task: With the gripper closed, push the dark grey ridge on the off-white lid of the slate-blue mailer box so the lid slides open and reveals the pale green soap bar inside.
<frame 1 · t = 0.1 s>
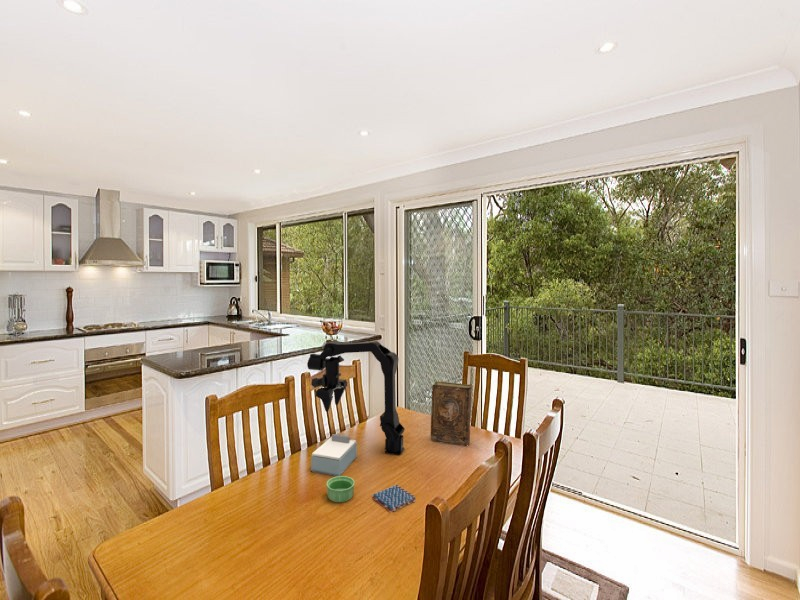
hand: (331, 408, 169), 15 cm above the table, tool pointing down, fingers open, 9 cm apart
woven mat: (393, 502, 127), on the table
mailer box: (334, 463, 150), on the table
book: (450, 441, 173), on the table
lid: (335, 444, 150), point 7 cm above the table, slide at 0.0 cm
ramekin: (340, 496, 129), on the table
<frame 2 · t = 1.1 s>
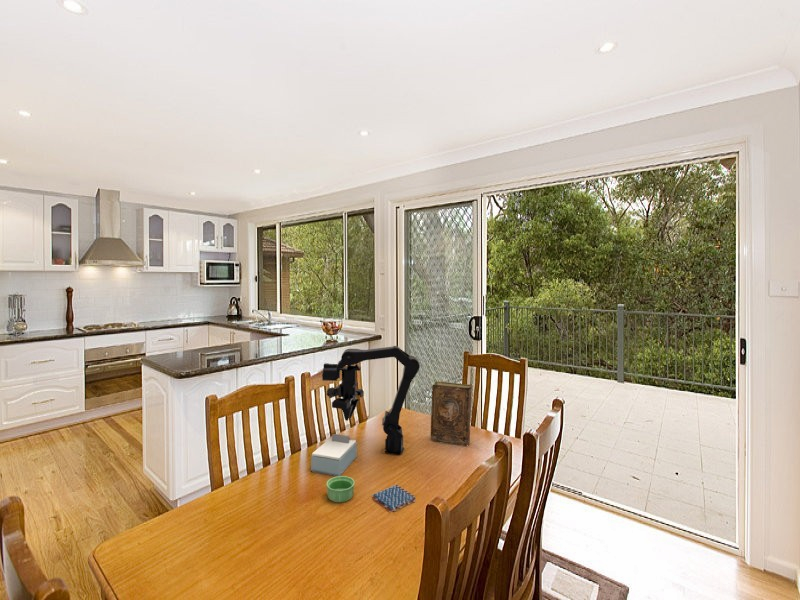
hand: (348, 419, 161), 13 cm above the table, tool pointing down, fingers open, 3 cm apart
nothing on the table moved.
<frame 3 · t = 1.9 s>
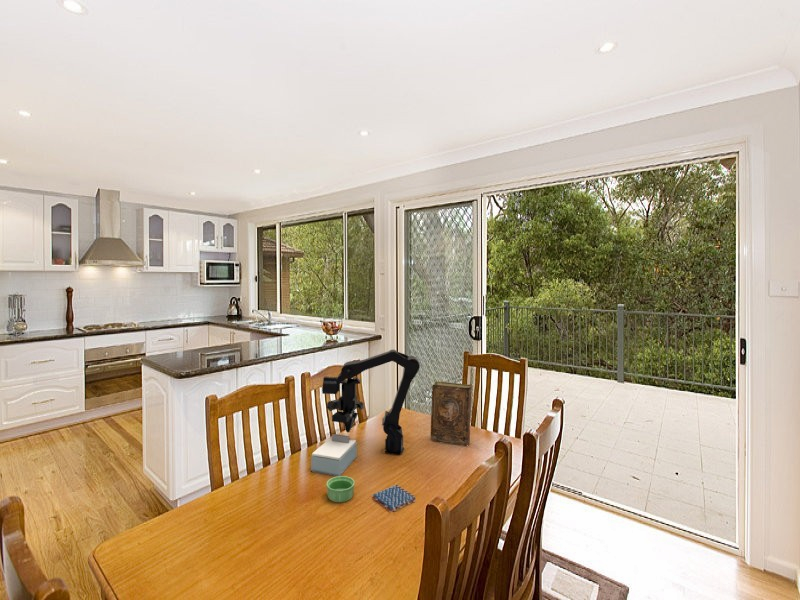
hand: (348, 432, 161), 8 cm above the table, tool pointing down, fingers closed
nothing on the table moved.
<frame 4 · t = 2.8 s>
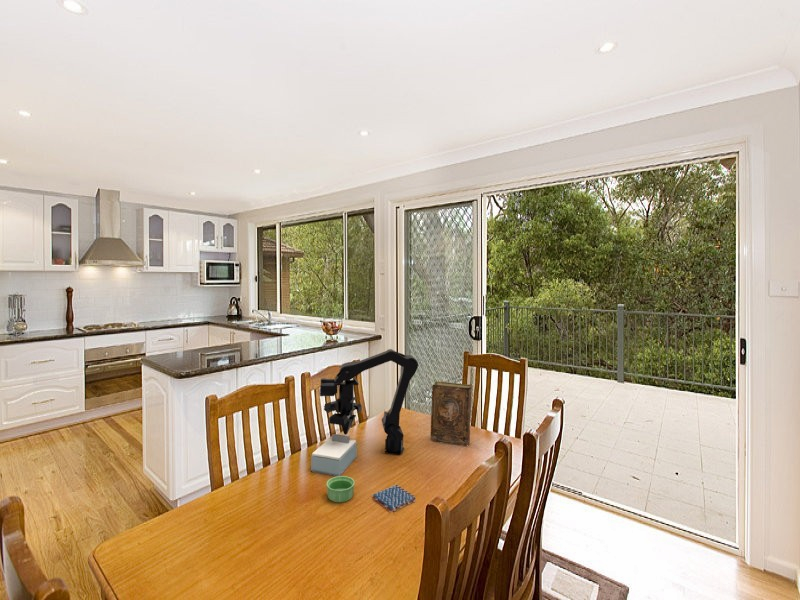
hand: (345, 434, 159), 8 cm above the table, tool pointing down, fingers closed
nothing on the table moved.
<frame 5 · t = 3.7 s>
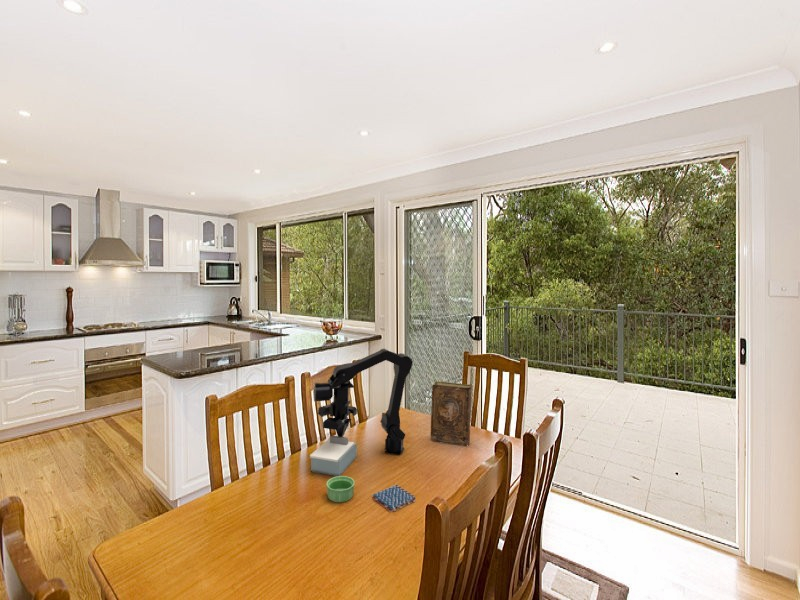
hand: (340, 438, 155), 8 cm above the table, tool pointing down, fingers closed
lid: (333, 446, 148), point 7 cm above the table, slide at 1.7 cm, touching gripper
everything else where it was.
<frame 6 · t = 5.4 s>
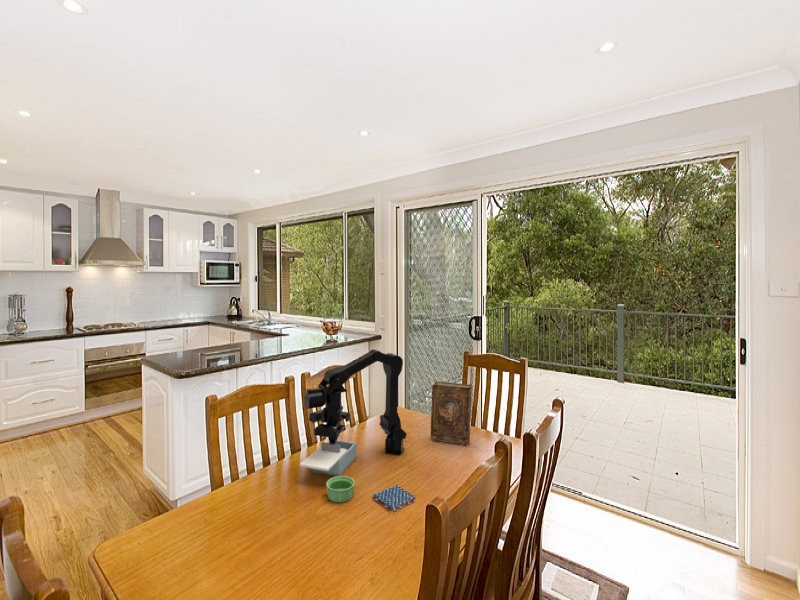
hand: (332, 446, 148), 8 cm above the table, tool pointing down, fingers closed
lid: (324, 454, 142), point 7 cm above the table, slide at 8.5 cm, touching gripper
everything else where it was.
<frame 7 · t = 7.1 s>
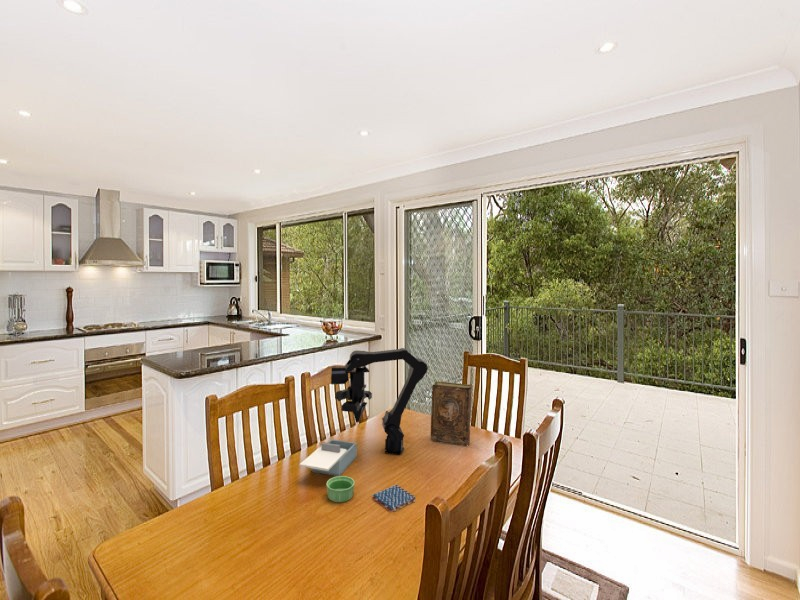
hand: (357, 421, 159), 13 cm above the table, tool pointing down, fingers closed
lid: (324, 454, 142), point 7 cm above the table, slide at 8.6 cm
everything else where it was.
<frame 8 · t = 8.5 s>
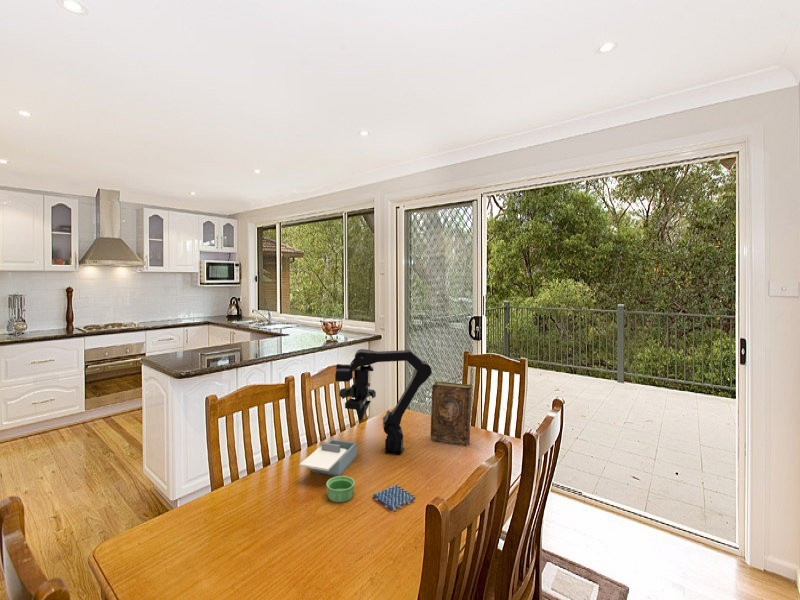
hand: (360, 419, 161), 13 cm above the table, tool pointing down, fingers closed
nothing on the table moved.
at the end: lid slide at 8.6 cm; lid touching nothing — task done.
